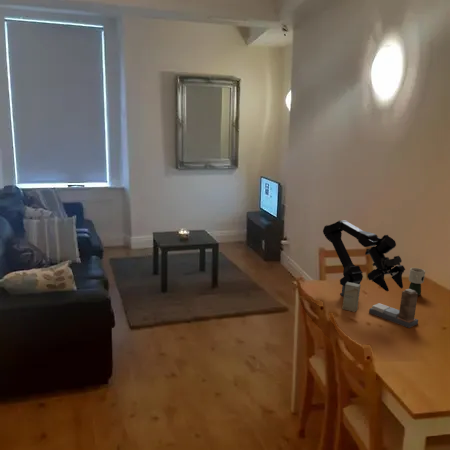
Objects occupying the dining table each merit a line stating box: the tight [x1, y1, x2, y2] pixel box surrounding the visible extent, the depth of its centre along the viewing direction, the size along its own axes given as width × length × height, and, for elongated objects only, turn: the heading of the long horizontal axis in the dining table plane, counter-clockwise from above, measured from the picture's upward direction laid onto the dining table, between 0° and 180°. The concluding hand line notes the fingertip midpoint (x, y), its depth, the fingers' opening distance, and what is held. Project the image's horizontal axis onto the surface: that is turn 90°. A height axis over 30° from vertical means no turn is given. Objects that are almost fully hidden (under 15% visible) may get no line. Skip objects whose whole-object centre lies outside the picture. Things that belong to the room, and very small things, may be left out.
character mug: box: [408, 267, 426, 296], centre depth 245 cm, size 11×7×13 cm, turn 158°
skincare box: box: [341, 282, 361, 313], centre depth 221 cm, size 6×4×12 cm
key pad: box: [368, 302, 419, 329], centre depth 214 cm, size 20×7×4 cm, turn 41°
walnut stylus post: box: [399, 288, 419, 321], centre depth 208 cm, size 4×4×13 cm
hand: (395, 289), depth 214 cm, fingers open, 9 cm apart
